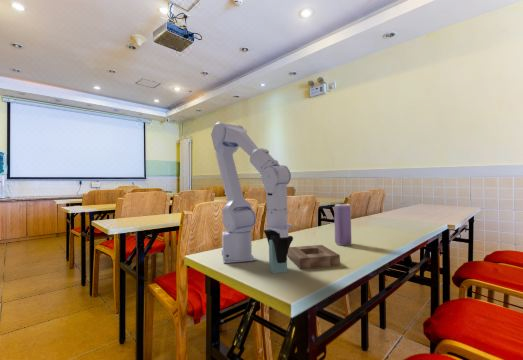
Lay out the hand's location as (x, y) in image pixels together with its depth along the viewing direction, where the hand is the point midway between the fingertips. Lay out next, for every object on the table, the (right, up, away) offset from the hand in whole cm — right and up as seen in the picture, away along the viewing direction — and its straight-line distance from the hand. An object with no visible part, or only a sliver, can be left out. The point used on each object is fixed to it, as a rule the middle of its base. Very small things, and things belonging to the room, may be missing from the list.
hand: (277, 258), depth 71 cm
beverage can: (+26, -3, +27) cm, 38 cm away
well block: (+11, -3, +7) cm, 13 cm away
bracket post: (0, -3, 0) cm, 3 cm away
